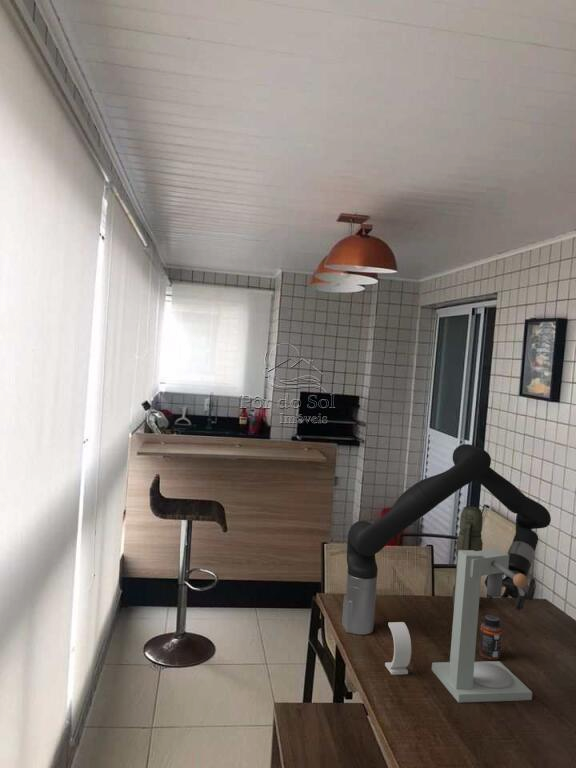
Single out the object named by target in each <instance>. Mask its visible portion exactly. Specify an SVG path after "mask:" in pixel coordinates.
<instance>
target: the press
mask: <svg viewBox="0 0 576 768" xmlns="http://www.w3.org/2000/svg"><path fill="white" fill-rule="evenodd" d="M456 563H457V576H456V575H455V576H456V589H455V602H454V605H453V617H452V619H453V620H452V627H451V628H452V629H451V631H452V632H451V643H450V645H451V646H450V654H449V661H446V662H443V661H442V662H439V661H438V662H432V664H431V671H432V672H433V673H434V675H435V676H436V677H437V678H438V680H440V682H441V683H442V684H443V685H444V687H445V688H446V690H447V691H448V692H449V693H450V694H451V695H452V697H453V698H454V699H455V700H456V701H457V703H458V704H459V703H481V702H483V703H484V702H488V703H489V702H514V701H532V699H533V691H532V690H530V689H529V688H528V687H527V686H526V685H525V683H523V682H522V681H521V680H520V679H519V678H518V676H516V675H514V673H512V672H511V670H509V669H508V668H507V667H506V665H504V663H502V662H501V661H499V660H498V661H497V660H490V661H485V660H484V661H475V660H476V659H475V658H476V646H477V636H478V635H477V634H478V633H477V632H478V620H479V608H480V607H479V606H480V596H481V595H480V594H481V585H482V584H481V583H482V576H483V577H484V576H487V575H488V582H487V587H486V595H487V594H488V595H489V596H493V598H501V597H502V590H503V587H502V578H503V573H504V574H505V575H507V576H509V577H510V578H512V579H513V582H514V584H515V585H516V586H517V587H519V588H522V589H523V588H525V587H527V586H528V584H527V583H528V580H527V579H528V577H527V578H526V576H525V575H523V574H515V573H513V572H511V571H510V570H508V566H509V554H507V553H505V552H503V551H500V550H498V549H494V548H490V549H482V551H474V550H458V561H457V560H456Z"/></svg>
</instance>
